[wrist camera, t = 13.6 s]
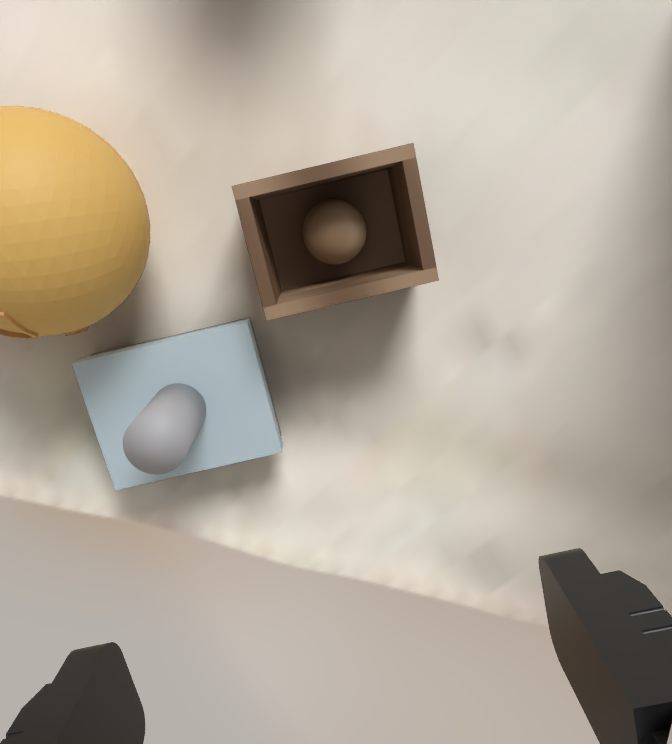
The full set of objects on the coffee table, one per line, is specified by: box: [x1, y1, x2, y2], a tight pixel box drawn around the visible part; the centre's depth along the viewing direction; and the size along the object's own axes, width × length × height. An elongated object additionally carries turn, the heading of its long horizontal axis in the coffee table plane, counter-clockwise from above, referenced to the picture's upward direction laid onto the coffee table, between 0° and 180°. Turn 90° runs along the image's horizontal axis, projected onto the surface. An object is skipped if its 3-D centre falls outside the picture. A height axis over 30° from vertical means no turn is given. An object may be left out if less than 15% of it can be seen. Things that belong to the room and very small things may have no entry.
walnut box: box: [232, 143, 439, 320], centre depth 30 cm, size 8×6×6 cm
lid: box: [72, 319, 283, 491], centre depth 31 cm, size 9×7×7 cm
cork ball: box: [303, 199, 367, 265], centre depth 31 cm, size 3×3×3 cm
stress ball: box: [0, 106, 150, 339], centre depth 28 cm, size 10×10×10 cm
